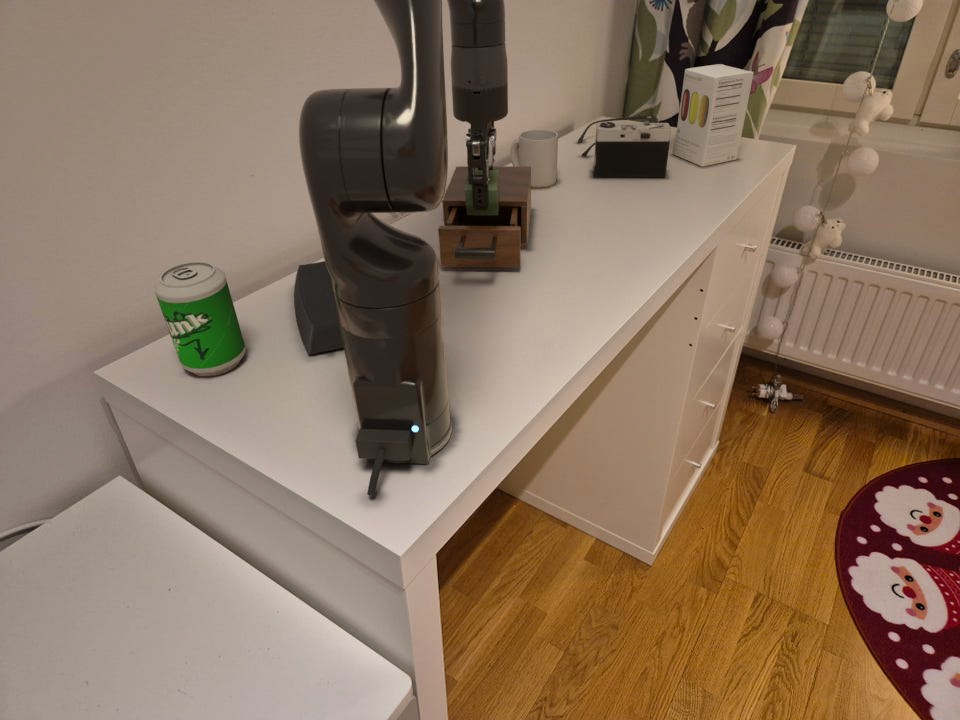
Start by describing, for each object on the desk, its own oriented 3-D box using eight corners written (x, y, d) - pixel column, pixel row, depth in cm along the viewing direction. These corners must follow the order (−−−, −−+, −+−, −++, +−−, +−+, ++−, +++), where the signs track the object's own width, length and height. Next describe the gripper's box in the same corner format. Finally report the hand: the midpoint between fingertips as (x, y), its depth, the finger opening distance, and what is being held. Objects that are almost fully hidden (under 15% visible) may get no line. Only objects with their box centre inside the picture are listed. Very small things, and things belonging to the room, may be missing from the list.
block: (498, 215, 96) (496, 190, 92) (467, 215, 97) (464, 190, 93) (500, 195, 99) (499, 169, 95) (470, 195, 99) (467, 170, 96)
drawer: (517, 286, 90) (517, 247, 87) (434, 285, 91) (431, 246, 88) (524, 227, 107) (525, 191, 103) (454, 226, 108) (452, 191, 105)
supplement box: (671, 154, 137) (682, 68, 128) (706, 147, 140) (720, 62, 131) (702, 167, 130) (716, 76, 121) (738, 159, 133) (755, 70, 124)
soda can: (225, 338, 84) (199, 252, 77) (260, 358, 79) (236, 269, 73) (170, 365, 79) (137, 276, 72) (205, 388, 75) (173, 296, 68)
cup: (542, 191, 122) (543, 142, 117) (500, 181, 128) (499, 134, 123) (563, 180, 127) (565, 133, 122) (521, 170, 132) (521, 125, 127)
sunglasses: (576, 138, 149) (577, 115, 146) (651, 136, 148) (654, 113, 145) (582, 161, 136) (584, 137, 133) (665, 160, 135) (668, 135, 132)
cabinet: (526, 249, 102) (527, 200, 98) (445, 248, 103) (442, 200, 99) (530, 210, 115) (531, 166, 111) (458, 209, 116) (456, 166, 112)
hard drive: (380, 272, 97) (377, 246, 95) (408, 338, 82) (405, 310, 80) (291, 287, 94) (285, 261, 92) (302, 359, 79) (296, 330, 77)
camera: (666, 165, 132) (672, 114, 126) (665, 182, 125) (671, 129, 119) (596, 162, 135) (599, 112, 129) (591, 179, 128) (594, 127, 122)
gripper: (458, 69, 94) (464, 182, 103) (443, 93, 82) (451, 217, 92) (511, 68, 93) (511, 182, 103) (503, 92, 81) (505, 218, 91)
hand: (483, 198), depth 97 cm, fingers open, 7 cm apart
